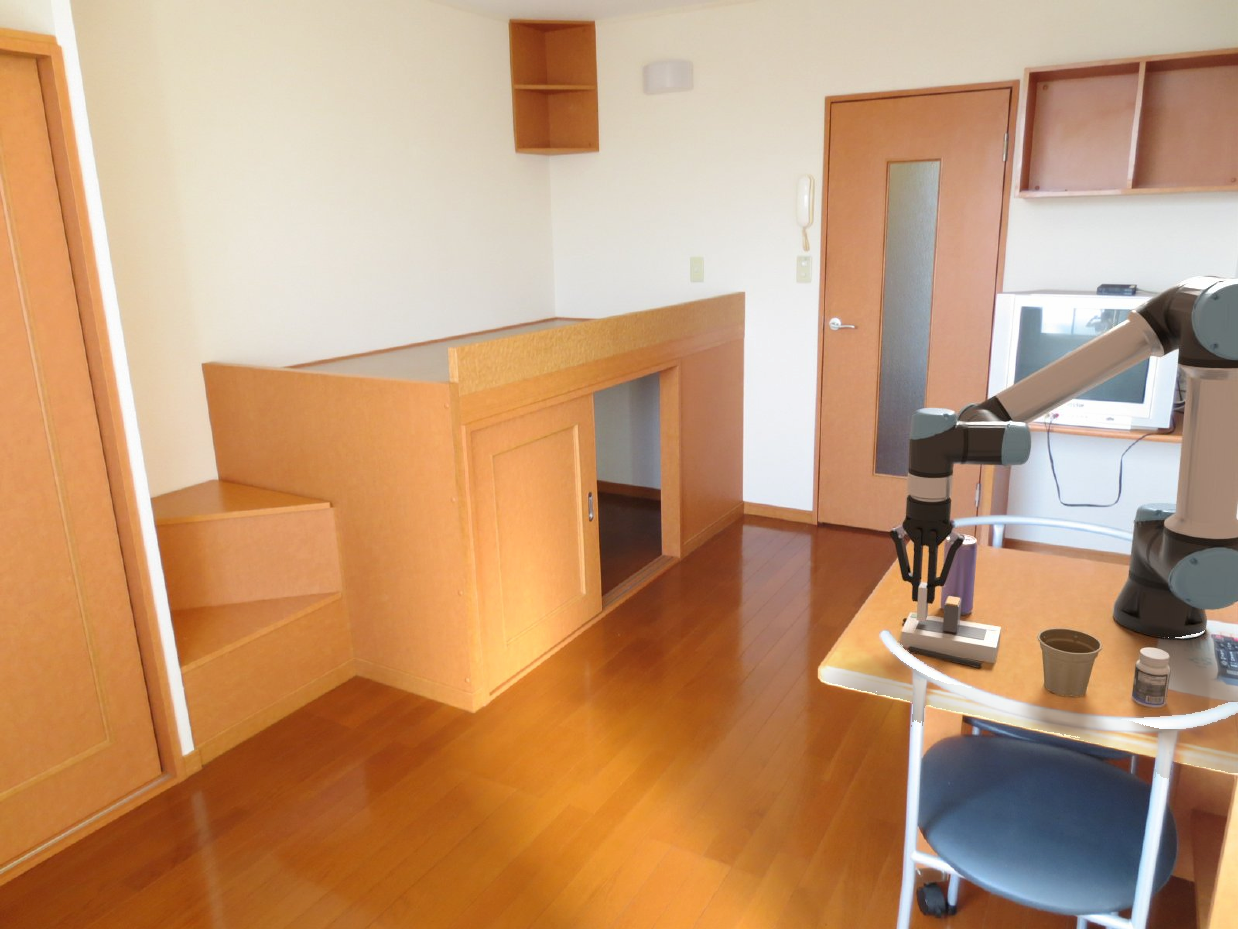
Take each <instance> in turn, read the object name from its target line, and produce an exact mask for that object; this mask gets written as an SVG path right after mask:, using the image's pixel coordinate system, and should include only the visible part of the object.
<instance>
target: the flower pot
mask: <svg viewBox="0 0 1238 929" xmlns="http://www.w3.org/2000/svg"><path fill="white" fill-rule="evenodd" d="M1036 638H1037V641H1038V642H1039V647H1040V649H1041V654H1042V655H1041V656H1042V657H1041V658H1042V668H1043V670H1042V671H1043V684H1044V687H1045V688H1046V689H1047V690H1048V691H1049V692H1051V693H1054V694H1056V695H1058V696H1062V697H1068V696H1071V697H1074V698H1079V697H1082V696H1084V695H1085V694H1086V693H1087V689H1088V687H1089V682H1090V679H1091V674H1092V671H1093V667H1094V663H1095V660H1096V658H1098V656H1099V653H1100V652H1101V651H1102V650H1103V643H1102V642H1101V641H1100V640H1099V638H1098V637H1095V636H1094V635H1092V634H1089V633H1087V632H1084V631H1081V630H1077V629H1072V628H1066V627H1065V628H1064V627H1063V628H1062V627H1051V628H1046V629H1043V630H1041V631H1039V633H1037V636H1036Z"/></svg>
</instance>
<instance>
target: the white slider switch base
mask: <svg viewBox="0 0 1238 929" xmlns="http://www.w3.org/2000/svg"><path fill="white" fill-rule="evenodd" d="M906 618H907V620H906V622H905V623H903V624H904V625H903V626H902V628H901V632H900V645H901V644H902V645H903V647H902V648H906V649H908V647H910V646H911V647H916V648H920V649H925V650H929V651H934V652H938V653H943V654H947V655H951V656H956V657H960V658H965V659H969V660H974V661H978V662H984V663H985V662H986V663H991V664H996V660H997V656H998V652H999V647H1000V641H1001V630H1002V627H1001V626H996V625H991V624H985V623H978V622H973V621H966V620H960V625H959V628H958V631H957V633H955V632H949V631H943V619H944V617H940V616H935V615H928V616H927V618H926V621H918V620H917V612H911V611H910V612H909V614H908V616H907V617H906Z"/></svg>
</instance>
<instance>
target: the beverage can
mask: <svg viewBox="0 0 1238 929" xmlns="http://www.w3.org/2000/svg"><path fill="white" fill-rule="evenodd" d="M958 534H959V533H958ZM960 534H961V533H960ZM960 534H959V535H960ZM962 535H964V536H965V539H964V542H963V544H962V545H961V546H960V547H959V548H958V549H957V551H956V554H955V557H954V560H953V563H952V566H951V568H950V571H949V574H948V577H947V580H946V582H945V585H944V586H941V590H940V591H941V592H940V594H941V595H940V608H941V609H942V611H944V605H945V602H946V600H947V597H948V596H953V597H959V598H960V599H962V600H961V614H960V616H966V615H969V614H970V613H971V612H972V611H973V608H974V605H973V604H974V597H975V595H974V594H975V580H976V568H977V555H978V554H977V553H978V543H977V541H978V540H977V539H976V538H975V537H974V536H972V535H967V534H962ZM949 540H950V537H949V536H948V537H947V538H946V539H945V540H944V548H943V565H942V567H943V566H944V563H945V560H946V557H947V554H948V551H949V549H950V547H951V544H950V543H949Z"/></svg>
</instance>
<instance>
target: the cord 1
mask: <svg viewBox="0 0 1238 929" xmlns="http://www.w3.org/2000/svg"><path fill="white" fill-rule="evenodd" d="M908 650H909V651H910V653H913V654H916V655H917V654H918V655H923V656H927V657H931V658H936V659H940V660H943V661H949V662H953V663H957V664H960V665H966V666H971V667H975V668H978V669H980V668H981V667H982V662H983V661H979V660H973V659H968V658H962V657H956V656H951V655H947V654H943V653H938V652H934V651H929V650H925V649H920V648H916V647H911V646H910V647H908V648H907V651H908ZM909 651H908V652H909Z"/></svg>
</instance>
